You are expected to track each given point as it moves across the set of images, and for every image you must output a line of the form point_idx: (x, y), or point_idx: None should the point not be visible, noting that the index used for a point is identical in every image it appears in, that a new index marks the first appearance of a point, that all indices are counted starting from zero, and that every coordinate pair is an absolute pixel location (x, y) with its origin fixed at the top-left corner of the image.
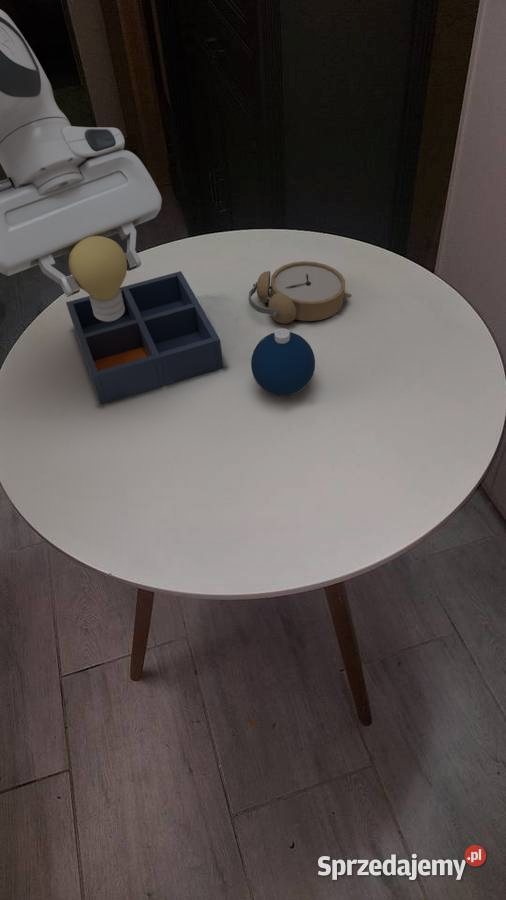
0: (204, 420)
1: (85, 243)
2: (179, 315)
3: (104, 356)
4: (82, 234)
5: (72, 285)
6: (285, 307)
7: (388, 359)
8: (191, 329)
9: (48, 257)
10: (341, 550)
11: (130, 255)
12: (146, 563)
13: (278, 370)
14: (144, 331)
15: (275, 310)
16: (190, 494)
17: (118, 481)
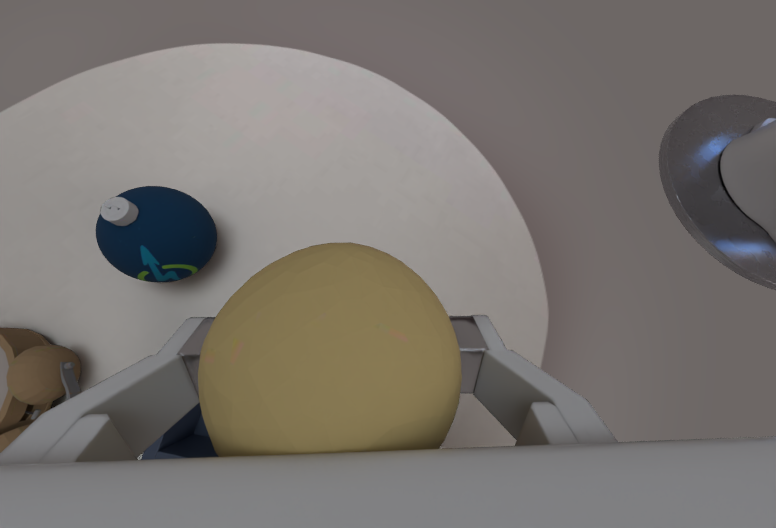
0: None
1: (363, 373)
2: (196, 454)
3: None
4: (337, 473)
5: (465, 324)
6: (41, 354)
7: (49, 209)
8: (200, 438)
9: (570, 439)
10: (306, 66)
11: (198, 341)
12: (454, 145)
13: (182, 197)
14: None
15: (59, 368)
16: (381, 183)
17: (437, 241)
